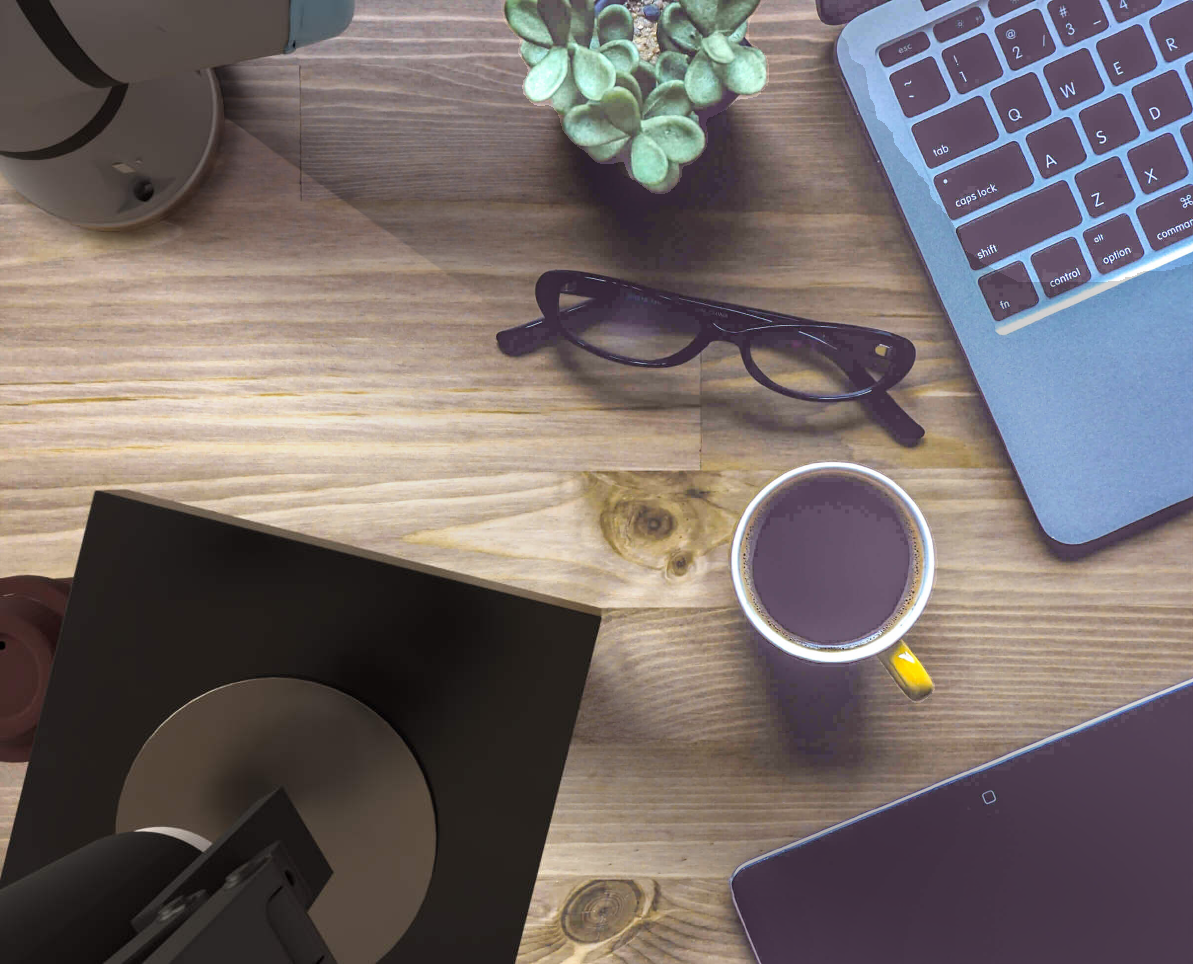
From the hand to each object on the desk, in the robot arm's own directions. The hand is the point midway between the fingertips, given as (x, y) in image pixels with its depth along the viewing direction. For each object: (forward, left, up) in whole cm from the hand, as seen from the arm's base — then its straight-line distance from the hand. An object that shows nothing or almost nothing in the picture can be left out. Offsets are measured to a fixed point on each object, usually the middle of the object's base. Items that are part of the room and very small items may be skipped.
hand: (157, 918), depth 24 cm
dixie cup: (0, 0, 0) cm, 0 cm away
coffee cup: (+3, -19, -37) cm, 42 cm away
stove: (0, +1, -9) cm, 9 cm away
